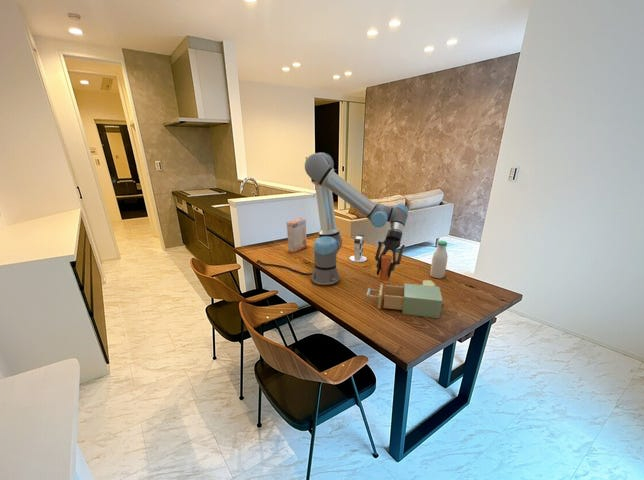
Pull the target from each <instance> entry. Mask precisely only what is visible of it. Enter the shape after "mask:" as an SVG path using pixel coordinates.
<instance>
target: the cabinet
mask: <svg viewBox="0 0 644 480" xmlns="http://www.w3.org/2000/svg"><path fill="white" fill-rule="evenodd" d="M403 287H404V303H403V310H401V314H402V315H409V316H417V317H424V318H432V319H433V318H435V319H440V317H441V313H442V308H443V301H444V299H443V296H442V292H441V289H440V288H441V287H440V286H436V285H435V286H426V285H423V284H414V283H405V282H404V283H403Z"/></svg>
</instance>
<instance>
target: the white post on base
mask: <svg viewBox="0 0 644 480" xmlns="http://www.w3.org/2000/svg"><path fill="white" fill-rule="evenodd" d="M353 252H354V253H353V254H354V255H351V256H349V258H348V259H349V261H351V262H354V263H364V262H366V261H367V260H368V258H367V256H365V255H363V252H364V234H361V233H360V234H357V236H355V237H354V239H353Z"/></svg>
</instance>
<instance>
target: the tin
mask: <svg viewBox="0 0 644 480" xmlns="http://www.w3.org/2000/svg"><path fill="white" fill-rule="evenodd" d="M392 261H393V255H392V256H391V255H390V254H385V255H383V256H382V259H381V269H380V273H379V280H380V281H382V282H388V281H390V278H391V276H390V277H388V272H389V268H390V265H391V263H392Z"/></svg>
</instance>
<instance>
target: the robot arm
mask: <svg viewBox="0 0 644 480" xmlns="http://www.w3.org/2000/svg"><path fill="white" fill-rule="evenodd" d="M334 166H335V163H334V160H333V158H332V156H331V155H330V154H328V153H327V152H315V153H312V154H310V155H309V156H307V158H306V159H305V162H304V171H305V173H306V175H307V176H308V178H310V180H311V183H312V184H313V185H314V188H315V196H316V204H317V211H318V218H319V225H320V229H319V231H318V238H316V239H315V240H314V243H313V255H314V256H313V257H314V258H313V259H314V268H313V271H312V272H304V271H303V272H302V271H300V270H297V269H294V268H292V267H289V266H285V265H281V264H274V263H266V262H262V260H260V259H258V260H256V263H260V264H261V265H264V266H271V267H279V268H284V269H288V270H290V271H292V272H296V273H298V274H301V275H304V276H311V283H312V284H314V285H316V286H318V287H332V286H335V285H337V284H338V283H339V282H340V275H339V271H338V268H337V255H338V253H339V251H340V249H341V248H342V246H343V245H342V244H343V240H342V236H341V234H340V233H341V232H340V229H339V227H337V223H336V215H335V214H336V213H335V206H334V205H335V204H334V197H333V194H335V195H336V196H338V197H339V198H340V199H341V200H343V201H344V202H345V203H347V204H348V205H349V206H351V207H352V208H353V209H354V210H356V211H357V212H358V213H360V214H361V215H362V216H364V217H365V218H367V219H368V220H369V221H370V222H371V224H372V226H374V227H375V228H382V227H384V226H385V225H386V224H387V222H388V223H389V226H388V229H387V232H386V236H385V239H384V240H383V241H378V242H377V244H378V246H377V250H376V253H375V256H374V259H375V261H376V262H377V263H376V268H377V269H376V275H377V276H380V270H381V259H382V256H383V255H387V253H388V252H389V251H392V262H391V265H390V268H389V272H388V277H390V278H391V274H392V271H395V268H396V266H397V265H400V264H401V261H402V257H403V253H404V250H405V249H406V245H405V244H402V243H401V241H402V237H403V234H404V230H405V226H406V223H407V219H408V214H409V207H407V205H405V204H396V205H394V207H392V206H388V205H385V204H381V203H379V202H378V203H377V202H373V201H372V200H371V199H369V198H368V197H367V196H366V195H364V194H363V193H362V192H360V191H359V190H358V189H357V188H356V187H354V186H353V185H352V184H351V183H349V182H348V181H347V180H345V179H344V178H343V177H341V176H340V175H338V173H336V172H335V168H334ZM383 246H384V248H383V250H382V247H383ZM397 249H399V252H398V256H397Z"/></svg>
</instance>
